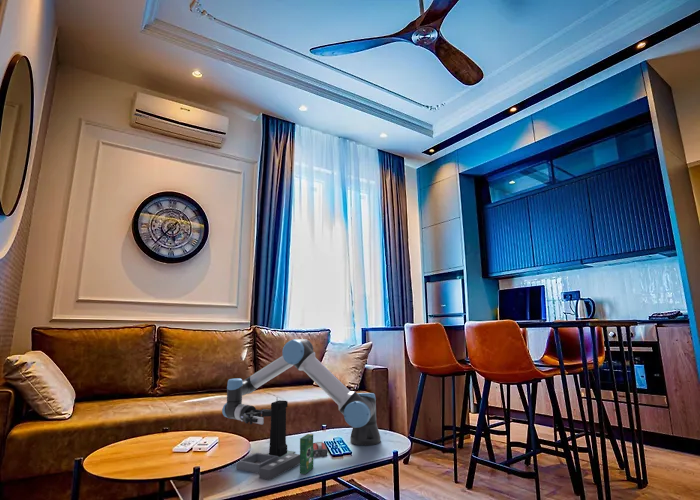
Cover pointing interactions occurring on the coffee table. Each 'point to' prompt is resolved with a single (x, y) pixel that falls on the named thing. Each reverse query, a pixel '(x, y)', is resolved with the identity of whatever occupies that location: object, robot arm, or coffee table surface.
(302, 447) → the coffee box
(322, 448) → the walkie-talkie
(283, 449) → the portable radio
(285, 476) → the coffee table surface
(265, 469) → the charging dock
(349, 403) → the robot arm
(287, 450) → the rubber mat
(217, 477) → the coffee table surface
